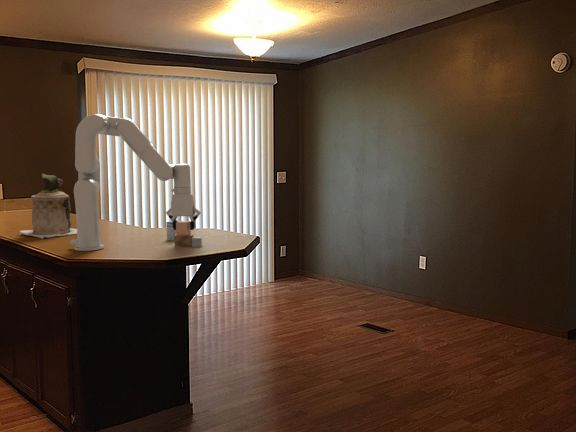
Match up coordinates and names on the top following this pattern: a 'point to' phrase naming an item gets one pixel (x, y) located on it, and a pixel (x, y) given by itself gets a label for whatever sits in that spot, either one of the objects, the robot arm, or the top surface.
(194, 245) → the slate block
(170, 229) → the medicine box
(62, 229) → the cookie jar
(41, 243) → the top surface
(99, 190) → the robot arm
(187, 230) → the terracotta block
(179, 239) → the walnut block
